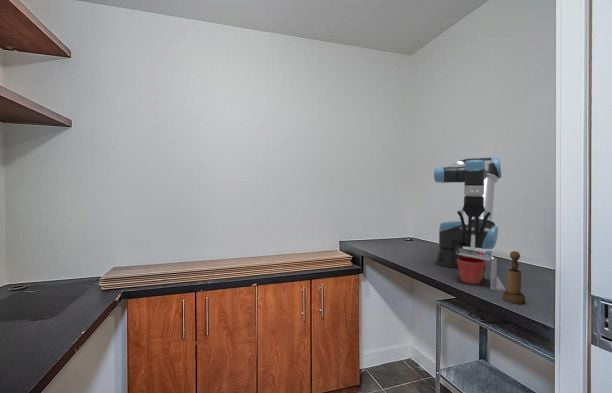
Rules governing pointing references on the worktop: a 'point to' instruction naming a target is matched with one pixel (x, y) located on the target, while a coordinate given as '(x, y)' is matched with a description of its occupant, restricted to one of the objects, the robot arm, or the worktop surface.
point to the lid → (474, 254)
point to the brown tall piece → (514, 282)
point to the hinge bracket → (493, 275)
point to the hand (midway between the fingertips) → (472, 249)
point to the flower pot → (470, 269)
